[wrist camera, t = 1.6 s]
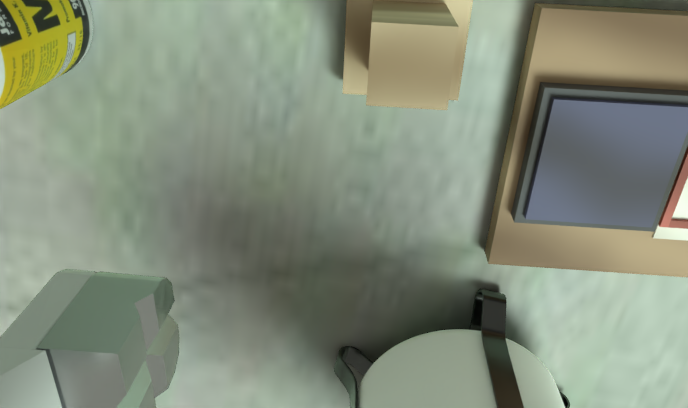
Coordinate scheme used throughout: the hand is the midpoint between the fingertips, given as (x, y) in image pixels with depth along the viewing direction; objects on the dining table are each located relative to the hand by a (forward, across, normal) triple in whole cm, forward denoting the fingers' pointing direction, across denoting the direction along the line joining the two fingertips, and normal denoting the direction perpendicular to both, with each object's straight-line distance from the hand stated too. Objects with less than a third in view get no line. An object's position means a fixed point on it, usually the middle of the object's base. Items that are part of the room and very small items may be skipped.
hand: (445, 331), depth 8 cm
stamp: (+20, 0, 0) cm, 20 cm away
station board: (+19, -13, +5) cm, 24 cm away
